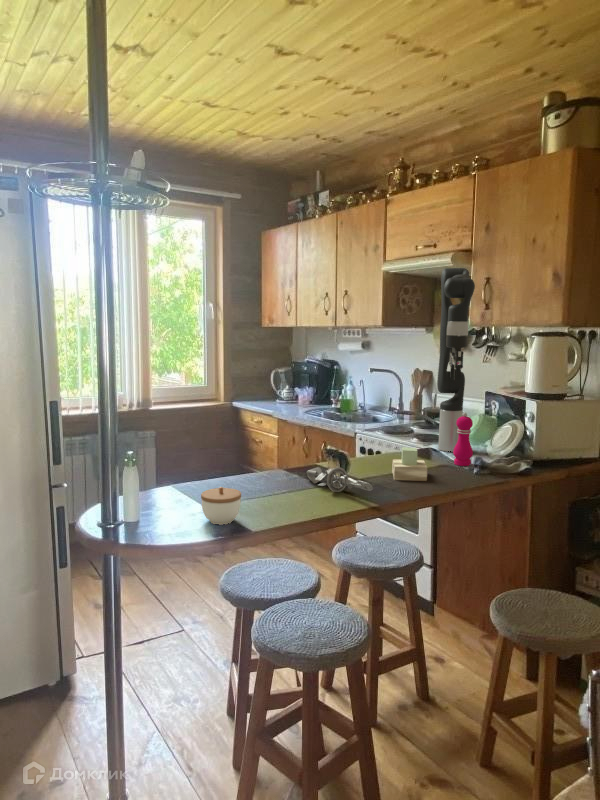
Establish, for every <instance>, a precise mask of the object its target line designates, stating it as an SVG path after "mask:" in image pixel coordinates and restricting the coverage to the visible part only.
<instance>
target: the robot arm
mask: <svg viewBox="0 0 600 800" xmlns="http://www.w3.org/2000/svg"><path fill="white" fill-rule="evenodd" d="M440 282H441V283H440V285H441V287H440V288H441V289H440V291H441V292H440V293H441V297H440V298H441V310H440V312H441V313H440V329H439V358H438V359H439V360H438V371H437V383H436V384H437V385H436V386H437V391H438V393H440V394H454V395H453V396H452V397H451V398H448V399H446V400H443V401H441V402H440V403H439V404H440V405H439V420H438V421H439V422H438V423H439V426H438V427H439V428H438V447H437V449H438V450H439V451H442V452H448V451H449V452H448V453H453V451H454V447H455V446H456V444H457V441H458V433H457V431H458V430H457V429H458V427H457V425H456V422H457V419H458V418H459V417H462V416H463V415H462V414H463V413H464V412H463V411H464V410H463V407H464V398H465V397H464V396H465V395H464V394H465V385H466V377H465V373H464V372H463V371H462V369H463V368H464V351H463V350H462V349H463V348H465V349H466V348H468V342H469V341H468V340H469V309H470V304H471V301H472V298H473V295H474V292H475V288H476V285H475V284H476V283H475V282H474V280H473V278H470V272H469V270H468V269H467V268H464V267H446V268H444V269H442V271H441V277H440ZM451 299H463V300H462V302H460V303H457V304H453V302H452V300H451ZM448 366H449V367H450V369H449V371H448ZM450 451H451V452H450Z"/></svg>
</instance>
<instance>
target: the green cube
mask: <svg viewBox="0 0 600 800" xmlns="http://www.w3.org/2000/svg"><path fill="white" fill-rule="evenodd" d="M401 459H402V465H417V460H418V448H417V447H406V446H405V447H403V446H402V447H401Z"/></svg>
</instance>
